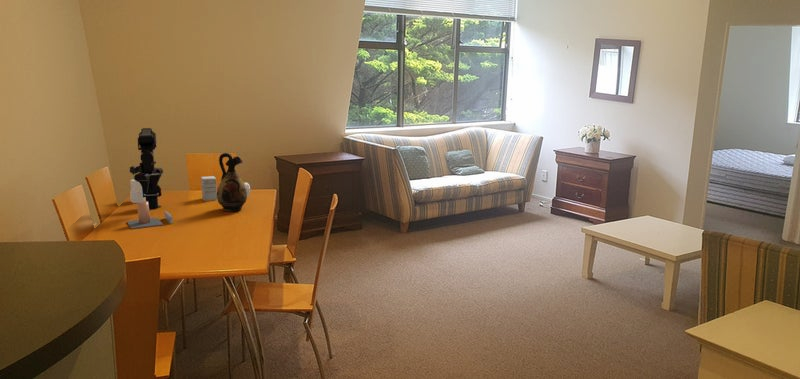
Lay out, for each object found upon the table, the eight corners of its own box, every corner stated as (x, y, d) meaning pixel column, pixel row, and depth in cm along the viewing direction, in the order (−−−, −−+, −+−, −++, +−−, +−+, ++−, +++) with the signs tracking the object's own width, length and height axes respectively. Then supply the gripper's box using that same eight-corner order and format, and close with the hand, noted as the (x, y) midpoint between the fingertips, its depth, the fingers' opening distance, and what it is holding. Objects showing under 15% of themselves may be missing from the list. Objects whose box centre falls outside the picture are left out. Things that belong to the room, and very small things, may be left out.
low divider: (165, 218, 294) (164, 211, 293) (167, 218, 295) (166, 211, 294) (170, 223, 284) (169, 216, 283) (172, 223, 285) (171, 216, 284)
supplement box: (202, 198, 338) (200, 176, 335) (215, 197, 341) (214, 175, 338) (203, 201, 331) (202, 179, 329) (217, 200, 334) (216, 178, 332)
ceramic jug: (251, 206, 320) (249, 151, 314) (241, 213, 305) (239, 156, 299) (221, 205, 322) (218, 150, 315) (209, 212, 307) (206, 155, 300)
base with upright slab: (127, 202, 327) (125, 180, 324) (140, 199, 334) (139, 178, 332) (138, 204, 323) (136, 182, 320) (151, 200, 330) (150, 179, 328)
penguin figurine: (250, 182, 339) (229, 186, 333) (252, 197, 341) (231, 201, 335) (247, 181, 344) (226, 184, 338) (249, 195, 346) (228, 199, 340)
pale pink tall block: (147, 220, 287) (145, 200, 285) (152, 222, 284) (150, 202, 282) (137, 222, 283) (135, 202, 281) (142, 224, 280) (140, 204, 278)
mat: (126, 222, 286) (126, 221, 286) (157, 218, 293) (157, 217, 293) (131, 229, 274) (131, 228, 274) (163, 225, 281) (162, 224, 281)
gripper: (141, 156, 303) (143, 186, 306) (122, 163, 285) (124, 194, 288) (162, 157, 302) (164, 186, 306) (144, 163, 284) (147, 195, 288)
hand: (150, 190), depth 297 cm, fingers open, 9 cm apart
